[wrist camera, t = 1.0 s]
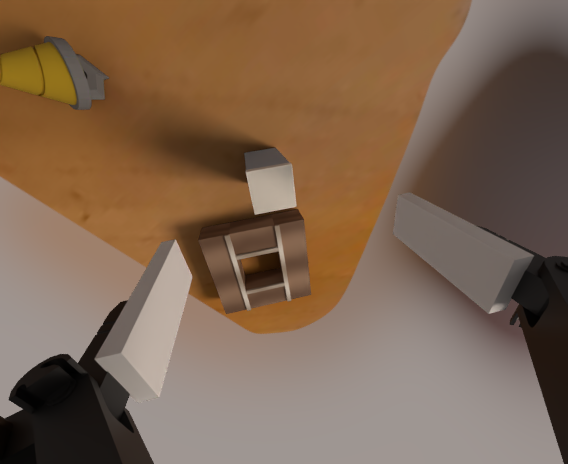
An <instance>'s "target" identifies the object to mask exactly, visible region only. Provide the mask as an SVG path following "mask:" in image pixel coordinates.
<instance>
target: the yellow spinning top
mask: <svg viewBox="0 0 568 464" xmlns="http://www.w3.org/2000/svg"><path fill="white" fill-rule="evenodd" d="M34 47H35V49H34V48H32V46H31V47H27V48H23V49H19V50H15V51H12V52H8V53H4V54H1V58H0V85H2V86H6V87H10V88H13V89H17V90H20V91H24V92H28V93H31V94H35V95H39V96H42V97H46V98H49V99H53V100H57V101H60V102H64V103H67V104H69V105H70V106H71V107H72V108H74V109H75V110H85V109H90V108H91V100H103V99H105V93H104V80H105V79H109V77H108V76H106V75H105V74H104V73H103V72H101V71H100V70H99V69H97V68H96V67H95V66H94V65H92V64H91V63H90V62H88V61H87V60H86V59H85V58H83V57H82V56H81V55H78V54H75V52H74V51H73V49H72V48H71V46H70V45H69V44H68V42H67V41H65V40H64V39H62V38H56V37H49V36H46V37H45V38H44V43H42V44H39V45H35V46H34Z"/></svg>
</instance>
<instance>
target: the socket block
mask: <svg viewBox="0 0 568 464" xmlns="http://www.w3.org/2000/svg"><path fill="white" fill-rule="evenodd" d="M198 241H199V244H200V247H201V249H202V252H203V254H204V257H205V260H206V262H207V265H208V268H209V270H210V273H211V275H212V278H213V281H214V283H215V286H216V289H217V291H218V294H219V297H220V299H221V302H222V304H223V307H224V310H225V312H226V314H228V313H233V312H237V311H242V310H246V309H247V311H248V310H251V308H255V307H259V306H264V305H268V304H273V303H277V302H281V301H286V300H287V301H291V299H295V298H299V297H303V296H308V295H311V289H310V279H309V268H308V258H307V247H306V237H305V227H304V219H303V217H302V215H301V214H300V212H299V210H298V209H297V210H292V211H287V212H282V213H276V214H271V215H266V216H261V217H256V218H250V219H245V220H240V221H235V222H230V223H225V224H219V225H214V226H209V227H204V228H202V230H201V233H200V236H199V239H198ZM273 252H278V256H279V261H280V267H281V268H278V269H273V270H269V271H264V272H259V273H255V274H250V275H245V273H244V270H243V266H242V263H241V259H244V258H249V257H254V256H258V255H263V254H268V253H273Z"/></svg>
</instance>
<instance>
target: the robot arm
mask: <svg viewBox="0 0 568 464" xmlns="http://www.w3.org/2000/svg"><path fill="white" fill-rule="evenodd" d="M393 234H394V235H395V236H396V237H397V238H398V239H400V240H401V241H402V242H403V243H405V244H406V245H407V246H408V247H409V248H411V249H412V250H413V251H414V252H415V253H416V254H418V255H419V256H420V257H421V258H422V259H424V260H425V261H426V262H427V263H428V264H430V265H431V266H432V267H433V268H434V269H436V270H437V271H438V272H439V273H440V274H442V275H443V276H444V277H445V278H447V279H448V280H449V281H450V282H451V283H452V284H454V285H455V286H456V287H457V288H458V289H460V290H461V291H462V292H463V293H464V294H466V295H467V296H468V297H469V298H470V299H472V300H473V301H474V302H475V303H476V304H478V305H479V306H480V307H481V308H482V309H484V310H485V311H486V312H487V313H493V312H497V311H501V310H505V309H506V308H507V306H508V304H509V302H510V300H511V298H512V299H514V300H515V301H516V302H517V303H519V305H518V307H517V309H516V311H515V312H514V314H513V316H512V318H511V320H510V325H514V323H515V322H516V320H518V319H519V320H520V325H519V327H521V328H522V330H523V333H524V336H525V340H526V343H527V346H528V349H529V353H530V356H531V359H532V362H533V365H534V368H535V372H536V375H537V378H538V382H539V385H540V388H541V391H542V394H543V397H544V401H545V404H546V407H547V410H548V414H549V417H550V420H551V423H552V426H553V430H554V433H555V436H556V439H557V443H558V446H559V449H560V452H561V455H562V459H563V462H564V464H568V257H561V256H552V257H547V258H544V257H543V256H541V255H539V254H537V253H535V252H533V251H531V250H529V249H526V248H524V247H522V246H520V245H518V244H516V243H514V242H512V241H510V240H507V239H506V238H504V237H502V236H498V234H496V233H494V232H492V231H490V230H488V229H486V228H483V227H479V226H475V225H473V224H471V223H469V222H467V221H465V220H463V219H461V218H459V217H457V216H455V215H453V214H451V213H449V212H447V211H445V210H443V209H441V208H439V207H437V206H435V205H434V204H432V203H430V202H428V201H426V200H423V199H422V198H420V197H418V196H416V195H414V194H412V193H405V194H400V195H398V200H397V207H396V215H395V222H394V230H393ZM191 281H192V275H191V273H190V270H189V268H188V266H187V264H186V261H185V259H184V257H183V255H182V253H181V250H180V248H179V246H178V244H177V241H176V239H175V240H170V241H165V242H161V244H160V246H159V247H158V249H157V251H156V253H155V254H154V256H153V258H152V260H151V261H150V263H149V265H148V267H147V268H146V270H145V272H144V274H143V275H142V277H141V279H140V280H139V282H138V284H137V286H136V287H135V289H134V291H133V293H132V295H131V296H130V298H129V300H127V301H123V302H120V303H119V304H118V305H117V306H116V307H115V308H114V309H113V310H112V311H111V312H110V313H109V315H108V316H107V318H106V319H105V321H104V323H103V325H102V326H101V327H100V329H99V330H98V332H97V335H95V337H94V338H93V340H92V342H91V343H90V345H89V346H88V348H87V350H86V351H85V353H84V354H83V356H82V357H81V359H80V361H79V362H78V363H77V362H76V361H75V360H74V359H72V358H71V357H70V356H69V355H68V354H59V355H57V356H53V357H50V358H49V359H47V360H45V361H43V362H41V363H39V364H38V365H37V366H35V367H34V368H32V369H31V370H30V371H28V372H27V373H26V374H25V375H24V376H23V377H22V378H21V379H20V380H19V381H18V382H17V384H16V385H15V387H14V388H13V390H12V391H11V393H10V397H9V400H10V401H11V402H13V403H14V404H16V405H18V406H19V407H21V408H22V409H23V410H21V411H19V412H17V413H15V414H13V415H11V416H9V417H7V418H5V419H4V418H3V417H1V416H0V464H154V463H153V461H152V459H151V457H150V454H149V452H148V451H147V448H146V446H145V444H144V442H143V440H142V438H141V436H140V434H139V431H138V429H137V427H136V425H135V423H134V421H133V419H132V417H131V415H130V413H129V411H128V410H127V409H126V408H125V406H126V403H127V400H128V398H129V395H130V396H131V397H132V398H133V399H134V400H135V401H136V402H137V403H140V402H144V401H148V400H152V399H156V398H159V397H160V393H161V390H162V386H163V382H164V379H165V375H166V371H167V368H168V364H169V361H170V357H171V353H172V349H173V346H174V342H175V339H176V335H177V331H178V328H179V324H180V321H181V317H182V313H183V310H184V306H185V302H186V299H187V295H188V292H189V288H190V284H191Z"/></svg>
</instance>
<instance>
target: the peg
mask: <svg viewBox="0 0 568 464" xmlns="http://www.w3.org/2000/svg"><path fill="white" fill-rule="evenodd" d="M244 155H245V164H246V176H247V181H248V185H249V190H250V195H251V199H252V204H253V209H254V213H255V215H256V214H261V213H266V212H271V211H277V210H282V209H287V208H292V207H296V198H295V189H294V180H293V171H292V164H291V163H290V162H288V161H287V160H286V158H285V157H284V156H283V155H282V154H281V153H280V152H279V151H278V150H277V149H276V148H271V149H265V150H259V151H253V152H247V153H244Z"/></svg>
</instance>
